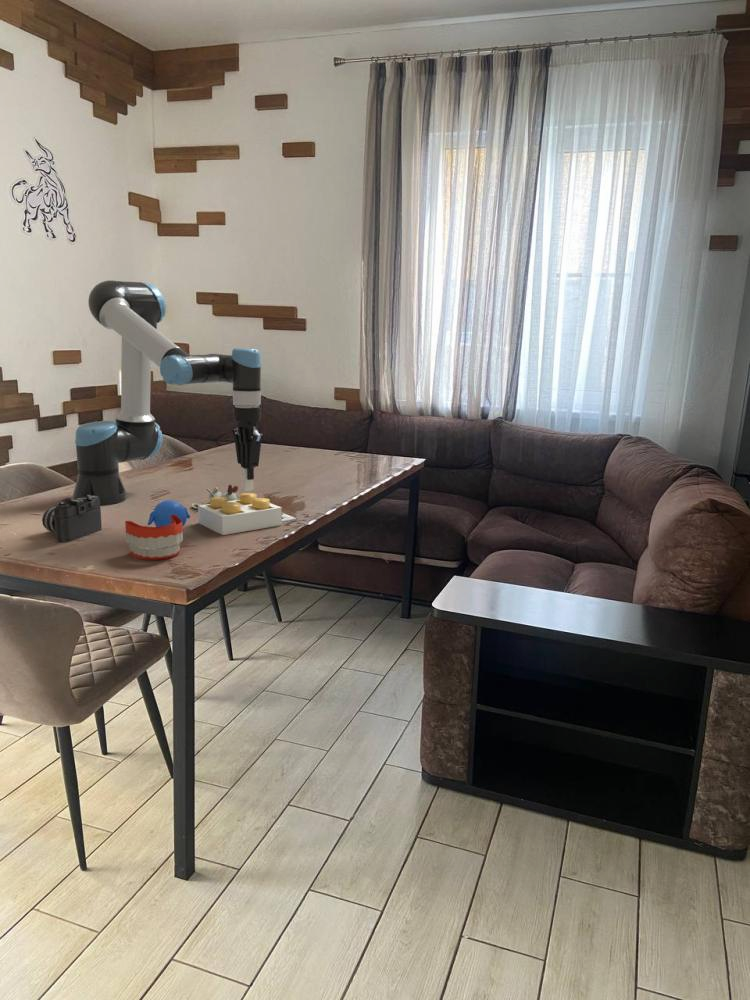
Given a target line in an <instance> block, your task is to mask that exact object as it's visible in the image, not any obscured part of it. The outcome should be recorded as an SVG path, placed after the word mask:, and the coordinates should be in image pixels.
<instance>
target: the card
mask: <svg viewBox="0 0 750 1000" xmlns="http://www.w3.org/2000/svg"><path fill="white" fill-rule="evenodd" d="M296 520H297V517H294V516H292V515H289V514H287V513H284V512H282V523H285V522H293V521H296Z"/></svg>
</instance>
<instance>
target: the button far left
mask: <svg viewBox="0 0 750 1000" xmlns="http://www.w3.org/2000/svg"><path fill="white" fill-rule="evenodd" d="M226 502H228V498H226V497H213V498H210V499H209V504H210V508H213V509H221V508H222V504H223V503H226Z"/></svg>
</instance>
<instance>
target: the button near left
mask: <svg viewBox="0 0 750 1000" xmlns="http://www.w3.org/2000/svg"><path fill="white" fill-rule="evenodd" d="M222 513H224V514H226V515H231V514H238V513H241V504H240V503H237V502H226V503H223V504H222Z"/></svg>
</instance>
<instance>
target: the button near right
mask: <svg viewBox="0 0 750 1000" xmlns="http://www.w3.org/2000/svg"><path fill="white" fill-rule="evenodd" d="M270 503H271V502H270V499H269V498H266V497H257V498H255V499H252V508H253V509H255V510H264V509H270Z"/></svg>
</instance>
